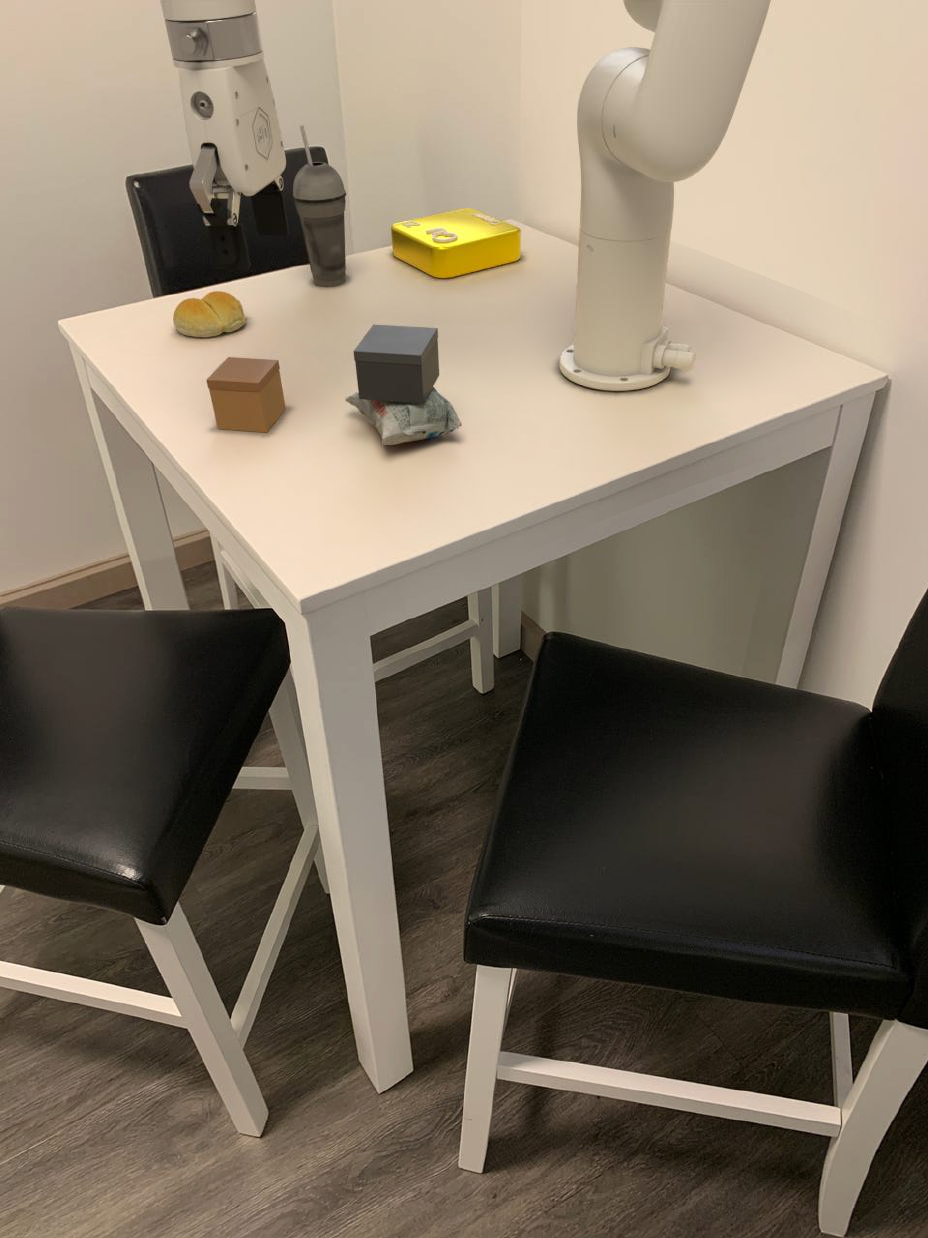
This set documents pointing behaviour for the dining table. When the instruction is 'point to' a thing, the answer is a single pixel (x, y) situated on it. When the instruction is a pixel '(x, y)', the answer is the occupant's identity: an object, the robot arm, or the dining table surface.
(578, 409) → the dining table surface
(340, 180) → the beverage cup
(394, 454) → the dining table surface
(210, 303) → the bread roll
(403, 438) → the packaged food
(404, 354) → the charcoal box
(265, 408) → the kraft box
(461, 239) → the element tile
